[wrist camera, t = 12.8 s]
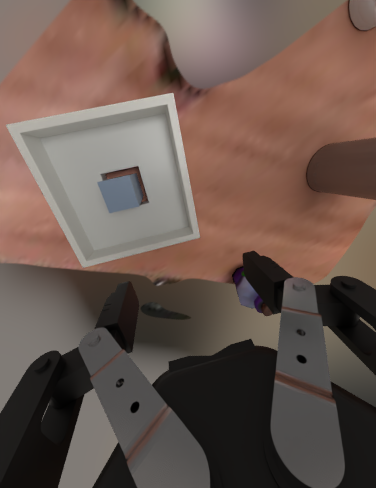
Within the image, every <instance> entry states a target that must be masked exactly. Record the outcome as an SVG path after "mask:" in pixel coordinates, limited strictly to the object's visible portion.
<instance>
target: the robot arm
mask: <svg viewBox="0 0 376 488" xmlns="http://www.w3.org/2000/svg"><path fill="white" fill-rule="evenodd" d="M307 181H308V184H309V186H310V187H311V188H312V189H313V190H315V191H318V192H325V193H332V194H338V195H345V196H352V197H359V198H366V199H373V200H376V138H369V139H362V140H355V141H347V142H340V143H333V144H328V145H326V146H324V147H322V148H321V149H320V150H319V151H318V152H317V153H316V154H315V155H314V157H313V158H312V160H311V162H310V164H309V167H308V170H307ZM243 268H244V275H245V278H246V280H247V281H248V282H249V284H250V285H251V286H252V287H253V289H254V290H255V291H256V293H257V294H258V295H259V296H260V298H261V299H262V300H263V302H264V303H265V304H266V305H267V307H268V308H269V309H270V311H271V312H272V313H273V314H277V313H281V320H280V331H279V342H278V351H276V350H274V349H271V348H268V347H264V346H254V344H253V342H252V340H251V339H249V340H245V341H242V342H239V343H235V344H231V345H230V346H228V347H226V348H224V349H223V350H221V351H219V352H218V353H216V354H214V355H212V356H188V357H184V358H180V359H177V360H174V361H170V362H169V370H168V371H166V372H165V373H163V374H162V375H161V376H160V377H159V378H158V379H157V380H156V381H155V382H154V383H153V384H152V385H151V384H150V382H149V381H148V380H147V378H146V377H145V376H144V375H143V373H142V372H141V371H140V369H139V368H138V367H137V366H136V364H135V363H134V362H133V360H132V359H131V358H130V356H129V355H128V354H127V353H130V352H132V350H133V344H134V337H135V330H136V324H137V317H138V310H139V301H138V298H137V295H136V293H135V290H134V288H133V286H132V283H131V282H130V281H128V282H124V283H120V284H118V286H117V289H116V292H115V293H112V294H111V295H110V296H109V297H108V298H107V300H106V302H105V304H104V307H103V309H102V312H101V314H100V317H99V319H98V322H97V324H96V327H95V329H94V330H92V331H91V332H89V333H88V334H87V335H85V336H84V338H83V339H82V340H81V342H80V344H79V347H77V348H75V349H73V350H72V351H70V352H68V353H66V354H64V355H61V354H60V353H59V352H58V351H50V352H47V353H45V354H44V355H42V356H40V357H39V358H38V359H36V360H35V361H34V362H33V363H32V364H31V365H30V367H29V368H28V369H27V370H26V372H25V374H24V375H23V377H22V379H21V381H20V382H19V384H18V385H17V387H16V389H15V390H14V392H13V393H12V395H11V397H10V398H9V400H8V402H7V403H6V405H5V407H4V408H3V410H2V411H1V413H0V488H58V485H59V482H60V478H61V474H62V471H63V467H64V464H65V461H66V457H67V453H68V450H69V446H70V443H71V439H72V436H73V432H74V429H75V425H76V422H77V418H78V415H79V411H80V408H81V404H82V401H83V397H84V394H85V393H87V392H88V391H90V390H92V389H93V388H94V389H95V391H96V393H97V395H98V398H99V400H100V402H101V404H102V406H103V409H104V411H105V413H106V415H107V417H108V420H109V422H110V424H111V426H112V428H113V431H114V433H115V435H116V437H117V439H118V444H117V446H116V447H115V449H114V451H113V453H112V454H111V456H110V458H109V460H108V462H107V463H106V465H105V467H104V468H103V470H102V472H101V474H100V475H99V477H98V479H97V480H96V482H95V484H94V486H93V487H92V488H376V407H374V406H372V405H371V404H369V403H367V402H365V401H364V400H362V399H360V398H358V397H356V396H355V395H353V394H352V393H350V392H348V391H346V390H345V389H343V388H341V387H340V386H338V385H336V384H334V383H333V382H331V381H330V374H329V367H328V360H327V353H326V345H325V338H324V331H323V326H328V327H329V328H330V329H331V330H332V331H333V332H334V333H335V334H336V335H337V336H338V337H339V338H340V339H341V340H342V341H343V342H344V343H345V344H346V346H347V347H348V348H349V349H350V350H351V351H352V352H353V353H354V354H355V355H356V356H357V357H358V358H359V359H360V360H361V361H362V362H363V363H364V364H365V365H366V366H367V367H368V368H369V369H370V370H371V371H372V372H373V373H374V374H375V375H376V332H374V331H373V330H372V329H371V328H369V327H368V326H367V325H366V324H365V323H363V322H362V321H361V320H360V319H359V318H360V317H361V318H363V319H364V320H365V321H366V322H368V323H369V324H370V325H371V326H373V328H374V329H375V330H376V290H375V289H374V288H372V287H370V286H368V285H367V284H365V283H363V282H362V281H360V280H358V279H356V278H352V277H348V276H337V277H334V278H332V279H331V283H330V285H313V283H311V282H310V281H308V280H306V279H303V278H297V277H295V278H294V277H293V276H291V275H290V274H289V273H288V272H286V271H285V270H284V269H283V268H282V267H280V266H279V265H278V264H277V263H275V262H274V261H273V260H272V259H270V258H268V257H266V256H260V255H259V254H258V253H256V252H255V251H250V252H246V253H243ZM48 403H49V406H48ZM47 406H48V408H47ZM46 408H47V410H46ZM45 410H46V413H45V415H44V412H45ZM43 415H44V417H43ZM42 418H43V419H42ZM41 421H42V422H41Z"/></svg>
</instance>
